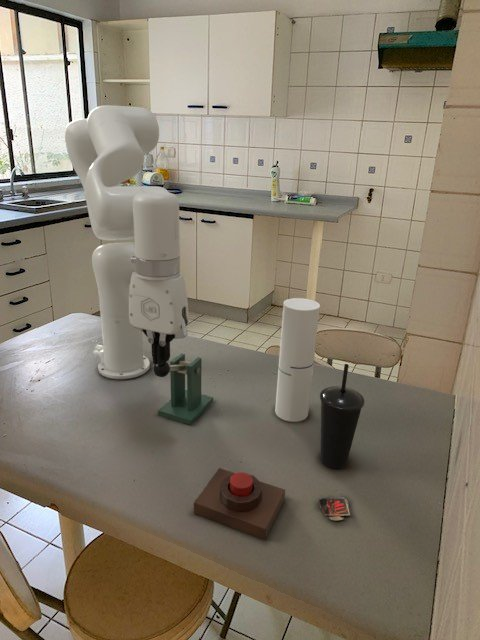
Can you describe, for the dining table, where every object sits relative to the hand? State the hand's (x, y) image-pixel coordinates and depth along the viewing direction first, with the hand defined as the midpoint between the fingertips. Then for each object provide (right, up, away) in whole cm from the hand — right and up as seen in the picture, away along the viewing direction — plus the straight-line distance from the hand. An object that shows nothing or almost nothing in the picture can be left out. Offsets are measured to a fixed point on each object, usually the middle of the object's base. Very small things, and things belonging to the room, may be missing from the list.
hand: (161, 361), depth 86 cm
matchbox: (+30, -23, -12) cm, 39 cm away
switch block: (+15, -22, -12) cm, 29 cm away
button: (+15, -19, -13) cm, 27 cm away
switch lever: (+1, -3, +6) cm, 7 cm away
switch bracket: (+3, -11, +14) cm, 18 cm away
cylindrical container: (+26, -12, +14) cm, 32 cm away
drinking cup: (+32, -18, 0) cm, 37 cm away
